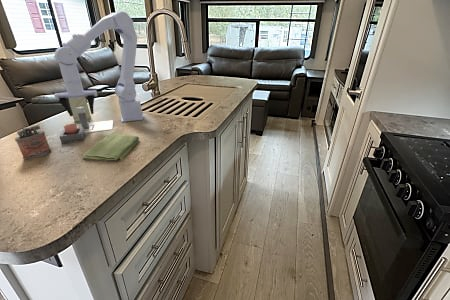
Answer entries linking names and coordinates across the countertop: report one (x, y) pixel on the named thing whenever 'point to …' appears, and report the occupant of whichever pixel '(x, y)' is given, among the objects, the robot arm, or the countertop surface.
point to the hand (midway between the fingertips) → (82, 114)
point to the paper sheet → (98, 126)
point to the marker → (82, 117)
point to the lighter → (32, 143)
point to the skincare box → (79, 102)
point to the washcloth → (112, 147)
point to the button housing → (72, 136)
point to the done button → (70, 128)
